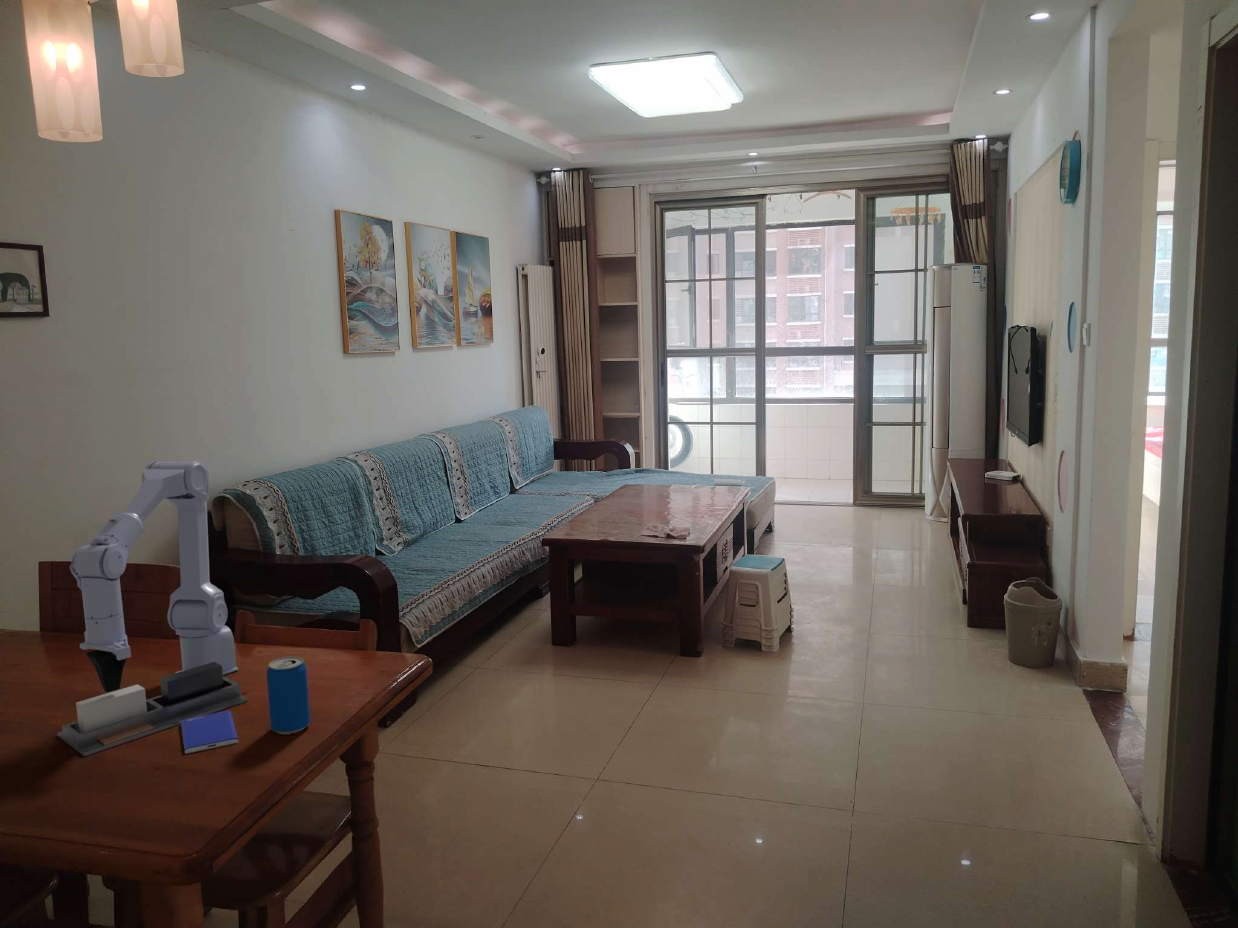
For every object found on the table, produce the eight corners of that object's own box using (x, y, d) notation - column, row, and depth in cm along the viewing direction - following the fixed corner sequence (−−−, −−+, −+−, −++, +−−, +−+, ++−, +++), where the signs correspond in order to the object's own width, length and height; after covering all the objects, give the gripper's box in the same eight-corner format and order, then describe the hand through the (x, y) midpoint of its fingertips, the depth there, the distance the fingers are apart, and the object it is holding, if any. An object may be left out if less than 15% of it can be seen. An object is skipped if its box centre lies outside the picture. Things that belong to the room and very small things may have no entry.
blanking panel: (140, 716, 162) (137, 684, 161) (148, 720, 160) (144, 688, 159) (79, 735, 155) (76, 702, 154) (86, 740, 153) (82, 707, 152)
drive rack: (217, 685, 177) (214, 653, 176) (247, 701, 169) (245, 667, 168) (57, 735, 156) (53, 699, 155) (84, 756, 148) (80, 718, 147)
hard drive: (180, 719, 160) (184, 747, 149) (230, 709, 163) (238, 736, 153) (181, 728, 160) (185, 756, 149) (231, 717, 164) (238, 745, 153)
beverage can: (318, 722, 160) (313, 657, 158) (294, 738, 154) (289, 671, 152) (288, 718, 162) (283, 653, 160) (262, 733, 156) (257, 666, 154)
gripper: (62, 611, 156) (70, 686, 158) (95, 628, 147) (103, 708, 149) (106, 601, 161) (113, 674, 163) (140, 617, 152) (148, 694, 154)
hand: (111, 689), depth 157 cm, fingers closed
